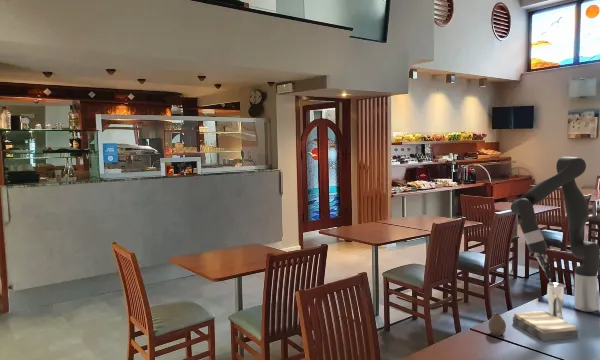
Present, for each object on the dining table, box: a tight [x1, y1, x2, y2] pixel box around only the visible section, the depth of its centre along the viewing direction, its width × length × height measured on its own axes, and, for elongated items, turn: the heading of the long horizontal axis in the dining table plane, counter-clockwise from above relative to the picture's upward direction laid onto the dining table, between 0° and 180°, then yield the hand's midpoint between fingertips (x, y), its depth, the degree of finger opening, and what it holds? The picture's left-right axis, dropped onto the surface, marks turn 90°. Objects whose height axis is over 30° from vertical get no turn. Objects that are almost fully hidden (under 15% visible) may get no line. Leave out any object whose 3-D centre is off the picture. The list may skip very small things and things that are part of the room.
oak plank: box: [529, 318, 577, 334], centre depth 194 cm, size 10×15×2 cm, turn 100°
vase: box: [488, 312, 507, 337], centre depth 196 cm, size 7×7×9 cm
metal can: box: [546, 282, 565, 319], centre depth 213 cm, size 7×7×15 cm
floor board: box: [512, 310, 579, 342], centre depth 198 cm, size 20×16×4 cm
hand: (550, 278), depth 204 cm, fingers closed
